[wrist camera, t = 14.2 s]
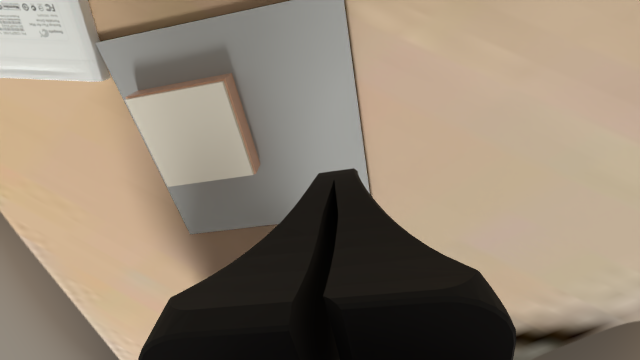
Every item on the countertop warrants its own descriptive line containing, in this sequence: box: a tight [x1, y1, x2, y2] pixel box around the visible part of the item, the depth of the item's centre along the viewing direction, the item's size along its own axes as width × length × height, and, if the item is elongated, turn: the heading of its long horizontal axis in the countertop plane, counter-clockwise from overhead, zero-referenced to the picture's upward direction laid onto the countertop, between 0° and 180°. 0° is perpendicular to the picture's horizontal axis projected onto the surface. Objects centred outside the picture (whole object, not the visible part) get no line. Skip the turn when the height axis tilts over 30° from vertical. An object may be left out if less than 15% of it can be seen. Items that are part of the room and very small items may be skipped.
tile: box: [125, 73, 260, 187], centre depth 20 cm, size 6×2×6 cm
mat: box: [96, 0, 370, 234], centre depth 21 cm, size 14×14×1 cm
